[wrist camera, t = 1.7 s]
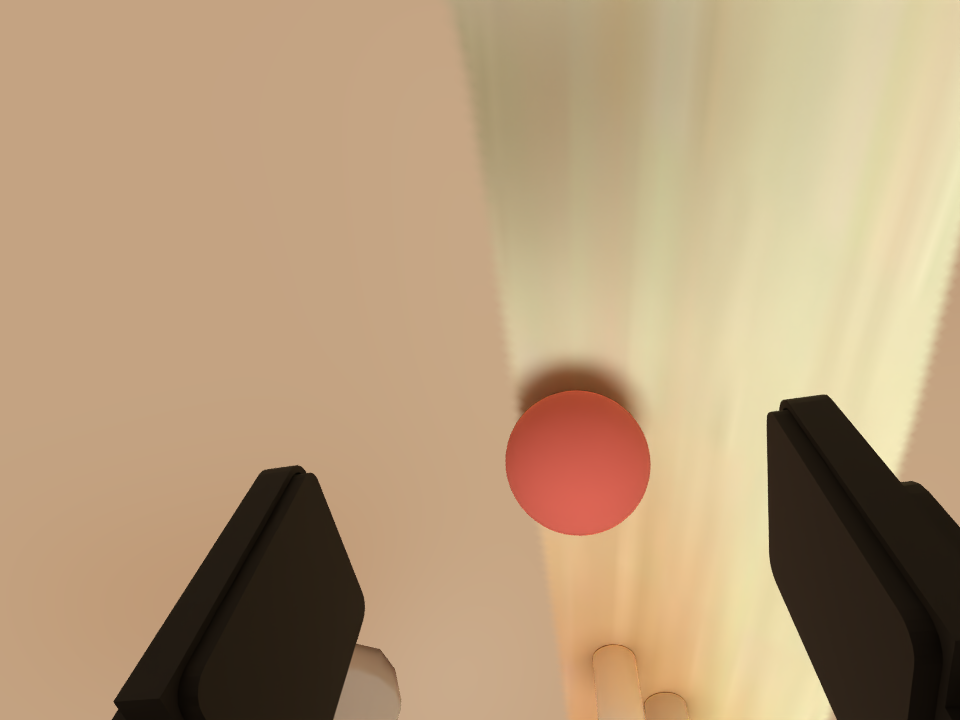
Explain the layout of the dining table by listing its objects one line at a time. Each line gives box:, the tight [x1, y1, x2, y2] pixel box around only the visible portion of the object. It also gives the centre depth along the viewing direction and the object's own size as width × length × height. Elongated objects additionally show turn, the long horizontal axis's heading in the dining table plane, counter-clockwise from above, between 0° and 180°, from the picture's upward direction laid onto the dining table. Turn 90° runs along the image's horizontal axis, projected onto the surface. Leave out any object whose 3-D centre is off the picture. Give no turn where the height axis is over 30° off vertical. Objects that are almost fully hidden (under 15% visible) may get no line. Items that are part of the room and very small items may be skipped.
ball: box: [506, 390, 650, 536], centre depth 27 cm, size 6×6×6 cm
